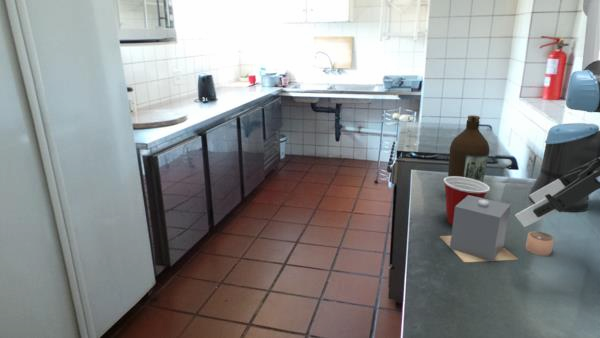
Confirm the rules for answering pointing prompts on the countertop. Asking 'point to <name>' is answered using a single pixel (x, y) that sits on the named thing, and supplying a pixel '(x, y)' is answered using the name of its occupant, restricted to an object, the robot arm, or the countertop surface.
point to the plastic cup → (461, 192)
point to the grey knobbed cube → (479, 227)
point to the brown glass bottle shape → (469, 152)
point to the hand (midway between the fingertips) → (527, 210)
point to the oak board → (465, 257)
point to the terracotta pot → (539, 243)
